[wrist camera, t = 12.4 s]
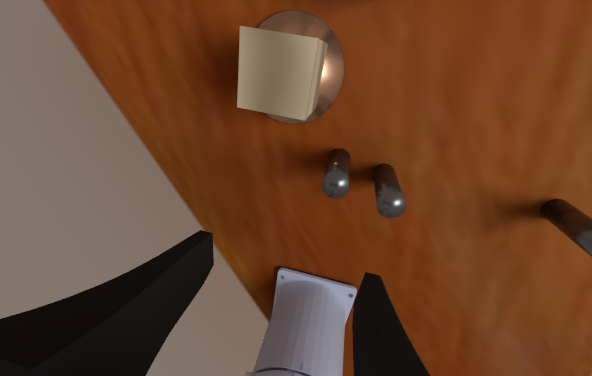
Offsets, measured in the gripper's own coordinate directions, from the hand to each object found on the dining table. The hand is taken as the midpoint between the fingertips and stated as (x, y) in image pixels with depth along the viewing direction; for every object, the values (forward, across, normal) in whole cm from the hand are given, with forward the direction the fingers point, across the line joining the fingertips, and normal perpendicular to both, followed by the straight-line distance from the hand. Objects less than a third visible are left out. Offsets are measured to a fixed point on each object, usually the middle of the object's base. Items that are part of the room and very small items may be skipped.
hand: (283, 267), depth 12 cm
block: (+10, +3, -7) cm, 13 cm away
